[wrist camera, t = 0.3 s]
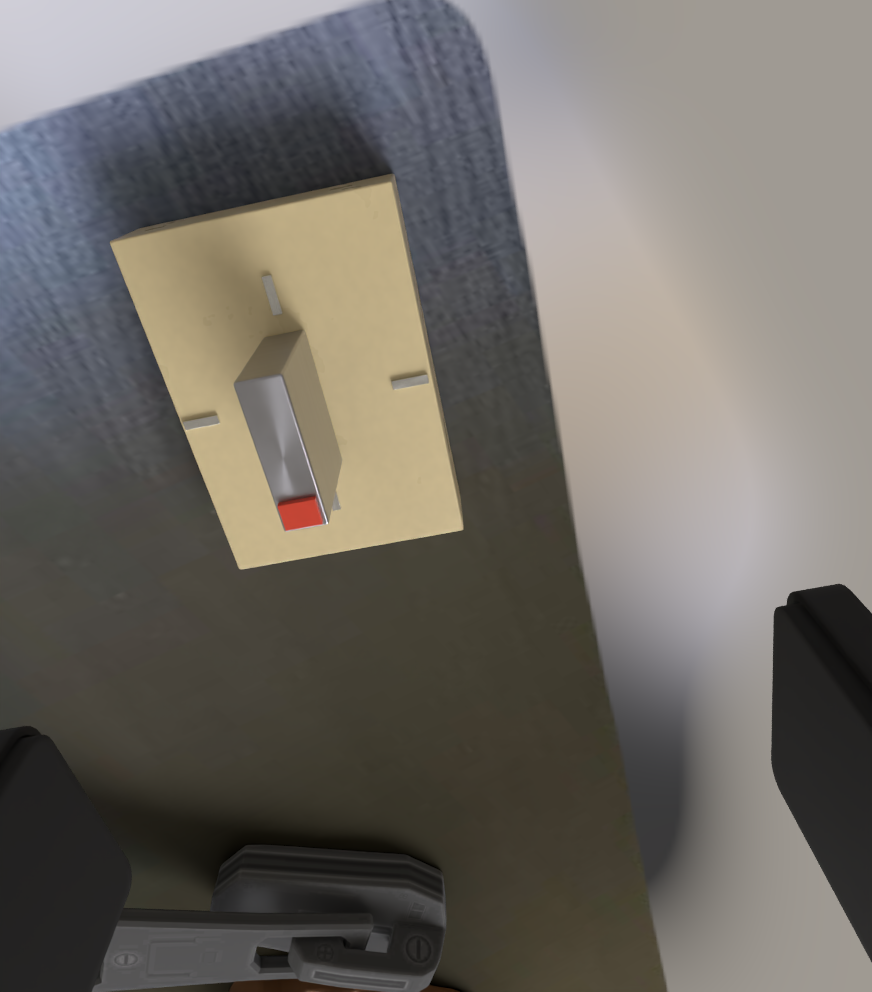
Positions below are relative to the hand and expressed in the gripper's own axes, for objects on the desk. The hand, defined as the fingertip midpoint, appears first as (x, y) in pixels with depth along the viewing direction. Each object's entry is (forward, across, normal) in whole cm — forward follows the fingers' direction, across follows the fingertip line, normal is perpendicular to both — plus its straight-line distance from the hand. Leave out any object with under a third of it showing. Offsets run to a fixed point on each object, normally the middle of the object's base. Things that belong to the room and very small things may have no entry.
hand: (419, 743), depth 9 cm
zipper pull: (+23, +18, +33) cm, 45 cm away
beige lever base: (+23, +5, +2) cm, 23 cm away
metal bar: (+20, +5, +2) cm, 20 cm away
